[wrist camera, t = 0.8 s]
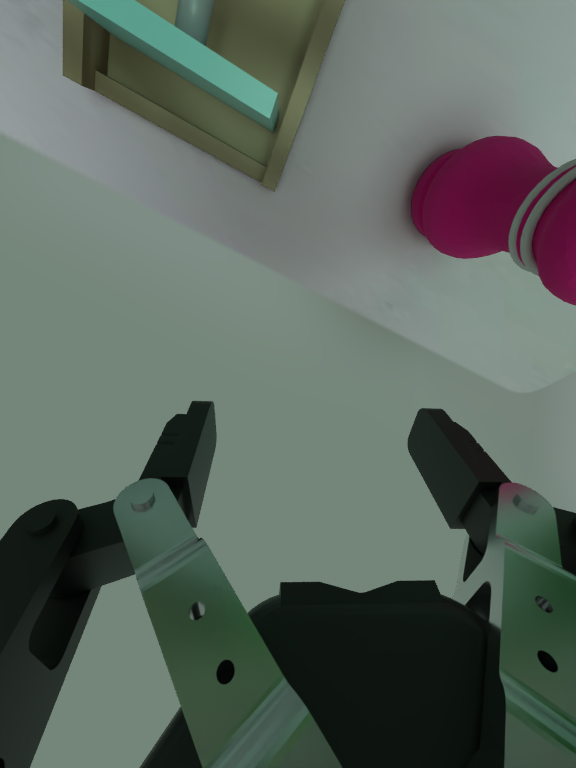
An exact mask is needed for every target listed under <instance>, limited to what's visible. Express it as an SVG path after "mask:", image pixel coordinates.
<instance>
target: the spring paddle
mask: <svg viewBox="0 0 576 768" xmlns="http://www.w3.org/2000/svg"><path fill="white" fill-rule="evenodd" d="M68 1H69V2H70V3H72V4H73V5H74V6H76V7H77V8H78V9H80V10H81V11H82V12H83V13H85V14H86V15H87V16H89V17H90V18H91V19H93V20H94V21H95V22H96V23H98V24H99V25H100V26H102V27H103V28H104V29H106V30H107V31H108V32H109V33H111V34H112V35H113V36H115V37H116V38H118V39H119V40H121V41H123V42H124V43H126V44H128V45H129V46H131V47H133V48H134V49H136V50H137V51H139V52H141V53H142V54H144V55H146V56H147V57H149V58H151V59H152V60H154V61H156V62H157V63H159V64H160V65H162V66H164V67H165V68H167V69H169V70H170V71H172V72H174V73H175V74H177V75H179V76H180V77H182V78H184V79H185V80H187V81H188V82H190V83H192V84H193V85H195V86H197V87H198V88H200V89H202V90H203V91H205V92H207V93H208V94H210V95H211V96H213V97H215V98H216V99H218V100H220V101H221V102H223V103H225V104H226V105H228V106H230V107H231V108H233V109H235V110H236V111H238V112H239V113H241V114H243V115H244V116H246V117H248V118H249V119H251V120H253V121H254V122H256V123H258V124H259V125H261V126H262V127H264V128H266V129H267V130H269V131H271V132H272V133H274V130H275V127H276V124H277V121H278V118H279V106H278V93H277V92H275V91H274V90H272V89H270V88H269V87H267V86H266V85H264V84H263V83H261V82H260V81H258V80H257V79H255V78H254V77H252V76H251V75H249V74H247V73H246V72H244V71H243V70H241V69H240V68H238V67H237V66H235V65H234V64H232V63H231V62H229V61H227V60H226V59H224V58H223V57H221V56H220V55H218V54H217V53H215V52H214V51H212V50H211V49H209V48H207V47H206V43H207V38H208V33H209V28H210V23H211V18H212V13H213V8H214V3H215V0H178V6H177V13H176V20H175V26H174V25H172V24H171V23H169V22H167V21H166V20H164V19H163V18H161V17H160V16H158V15H157V14H155V13H154V12H152V11H151V10H149V9H148V8H146V7H144V6H143V5H141V4H140V3H138V2H137V1H135V0H68Z"/></svg>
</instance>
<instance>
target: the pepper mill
mask: <svg viewBox="0 0 576 768" xmlns="http://www.w3.org/2000/svg"><path fill="white" fill-rule="evenodd" d="M411 215H412V219H413V222H414V224H415V226H416V228H417V229H418V231H419V232H420V233H421V234H423V235H424V236H426V237H427V239H428V240H429V242H430V243H431V244H432V245H433V247H434V248H436V249H437V250H438V251H440V252H441V253H444V254H446V255H449V256H452V257H455V258H463V259H467V258H478V257H483V256H488V255H491V254H495V253H498V252H501V251H505V252H509V253H510V254H511V257H512V259H513V261H514V262H515V263H516V264H517V265H518V266H519V267H520V268H522V269H524V270H526V271H529V272H532V273H534V274H536V275H538V276H539V277H540V279H541V281H542V283H543V285H544V286H545V287H546V288H547V289H548V290H549V291H550V292H551V293H552V294H553V295H555V296H556V297H558V298H559V299H561V300H563V301H564V302H567V303H570V304H572V305H576V159H574V160H572V161H569V162H567V163H565V164H564V165H562V166H560V167H559V168H556V167H554V166H553V165H552V164H551V163H549V161H548V160H547V159H546V157H545V156H544V155H543V154H542V152H541V151H540V150H539V149H538V148H537V147H535V146H533V145H532V144H530V143H528V142H526V141H525V140H523V139H520V138H516V137H506V136H492V137H486V138H483V139H480V140H477V141H474V142H472V143H471V144H469V145H467V146H465V147H464V148H462V149H457V150H453V151H450V152H448V153H446V154H444V155H442V156H440V157H439V158H438V159H436V160H435V161H434V162H433V163H432V164H431V165H430V166H429V167H428V168H427V169H426V170H425V172H424V173H423V175H422V176H421V178H420V179H419V181H418V183H417V185H416V187H415V190H414V193H413V197H412V202H411Z"/></svg>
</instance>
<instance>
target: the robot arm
mask: <svg viewBox="0 0 576 768" xmlns="http://www.w3.org/2000/svg"><path fill="white" fill-rule="evenodd" d="M214 411H215V410H214V403H213V402H212V401H192V403H191V405H190V407H189V410H188V412H187V414H177V415H175V416H174V417H173V418H172V419H171V420H170V421H168V422H167V424H166V426H165V428H164V430H163V432H162V435H161V436H160V438H159V440H158V442H157V445H156V446H155V448H154V450H153V452H152V454H151V456H150V458H149V460H148V462H147V465H146V466H145V469H144V471H143V473H142V475H141V477H140V479H139V480H138V481H137V482H134V483H132V484H131V485H129V486H127V487H126V488H125V489H124V490H122V491H121V493H120V494H119V495H118V497H117V498H116V499H114V500H112V501H109V502H106V503H102V504H98V505H94V506H90V507H86V508H82V509H79V510H78V509H77V507H76V505H75V504H74V503H72V502H71V501H69V500H64V499H58V500H51V501H47V502H44V503H42V504H39V505H37V506H35V507H33V508H31V509H30V510H28V511H27V512H25V513H24V514H23V515H21V516H20V517H19V518H18V519H17V520H16V521H15V522H14V523H13V524H12V526H11V527H10V528H9V530H8V531H7V533H6V534H5V535H4V536H3V538H2V539H1V540H0V768H30V765H31V763H32V760H33V758H34V755H35V753H36V750H37V748H38V745H39V743H40V740H41V737H42V735H43V733H44V730H45V728H46V725H47V722H48V720H49V717H50V715H51V712H52V710H53V707H54V705H55V702H56V700H57V697H58V695H59V692H60V690H61V687H62V685H63V682H64V679H65V677H66V674H67V672H68V669H69V667H70V664H71V662H72V659H73V657H74V654H75V652H76V649H77V647H78V644H79V642H80V639H81V636H82V634H83V631H84V629H85V626H86V624H87V621H88V619H89V616H90V614H91V611H92V608H93V606H94V604H95V601H96V599H97V596H98V593H99V591H100V588H101V586H102V585H105V584H108V583H111V582H114V581H117V580H120V579H123V578H126V577H129V576H131V575H134V574H136V577H137V582H138V585H139V588H140V591H141V594H142V597H143V600H144V602H145V605H146V608H147V611H148V614H149V617H150V619H151V622H152V625H153V628H154V631H155V634H156V637H157V639H158V642H159V645H160V648H161V650H162V654H163V657H164V659H165V662H166V665H167V668H168V671H169V673H170V676H171V679H172V682H173V685H174V688H175V690H176V694H177V696H178V699H179V702H180V705H181V707H180V709H179V710H178V712H177V713H176V714H175V716H174V717H173V719H172V721H171V722H170V723H169V725H168V726H167V728H166V729H165V731H164V732H163V734H162V735H161V737H160V738H159V740H158V741H157V743H156V744H155V746H154V747H153V749H152V750H151V752H150V753H149V754H148V756H147V757H146V759H145V760H144V762H143V763H142V765H141V767H140V768H576V513H573V512H569V511H566V510H562V509H558V508H554V507H552V506H551V504H550V503H549V502H548V501H547V500H546V499H545V498H544V497H543V496H541V495H540V494H539V493H537V492H536V491H534V490H532V489H531V488H528V487H526V486H524V485H521V484H518V483H512V482H511V481H510V480H509V479H508V478H507V477H506V475H505V474H504V473H503V472H502V471H501V469H500V468H499V467H498V466H497V465H496V463H495V462H494V461H493V460H492V459H491V458H490V457H489V455H488V454H487V453H486V452H484V450H483V448H482V447H481V446H480V445H479V443H476V440H475V439H474V438H473V436H472V435H471V434H470V433H469V432H468V431H467V430H466V429H464V428H463V427H462V426H460V425H459V424H457V423H456V422H453V421H452V420H451V419H450V417H449V416H448V415H447V414H446V412H445V411H444V410H443V409H429V408H422V409H420V410H419V411H418V413H417V416H416V418H415V421H414V424H413V426H412V429H411V432H410V434H409V437H408V450H409V453H410V455H411V457H412V459H413V460H414V462H415V464H416V466H417V468H418V470H419V472H420V473H421V475H422V477H423V479H424V481H425V483H426V484H427V486H428V488H429V490H430V492H431V494H432V495H433V497H434V499H435V501H436V503H437V505H438V507H439V508H440V510H441V512H442V514H443V516H444V518H445V520H446V522H447V523H448V525H449V527H450V528H451V529H466V531H467V533H468V535H467V536H466V538H465V540H464V546H463V551H462V557H461V563H460V569H459V575H458V581H457V586H456V590H455V593H454V595H453V597H452V599H451V598H449V597H446V596H444V595H441V594H440V592H439V590H438V587H437V585H436V583H435V581H434V580H432V581H396V582H394V583H390V584H388V585H385V586H382V587H379V588H376V589H373V590H371V591H368V592H365V593H358V592H354V591H350V590H347V589H343V588H339V587H336V586H332V585H329V584H325V583H322V582H281V583H280V592H279V595H277V596H274V597H271V598H269V599H267V600H265V601H263V602H261V603H260V604H258V605H257V606H255V607H254V608H253V609H251V610H250V611H249V612H248V613H247V612H246V610H245V609H244V607H243V605H242V603H241V602H240V600H239V598H238V596H237V595H236V593H235V591H234V590H233V588H232V586H231V584H230V583H229V581H228V579H227V577H226V576H225V574H224V572H223V571H222V569H221V567H220V565H219V564H218V562H217V560H216V558H215V557H214V555H213V553H212V552H211V550H210V548H209V547H208V545H207V543H206V542H205V541H204V540H203V539H202V538H200V539H199V538H198V537H197V536H196V534H195V532H194V530H193V529H192V528H196V527H197V522H198V518H199V514H200V510H201V506H202V501H203V498H204V493H205V489H206V485H207V481H208V477H209V473H210V468H211V464H212V460H213V456H214V452H215V447H216V423H215V412H214Z"/></svg>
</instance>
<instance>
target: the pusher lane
mask: <svg viewBox="0 0 576 768" xmlns="http://www.w3.org/2000/svg"><path fill="white" fill-rule="evenodd" d="M135 1H137V2H138V3H140V4H141V5H143V6H144V7H146V8H148V9H149V10H151V11H152V12H154V13H155V14H157V15H158V16H160V17H161V18H163V19H164V20H166V21H167V22H169V23H171V24H172V25H174V26H175V20H176V13H177V6H178V0H135ZM344 1H345V0H215V3H214V8H213V13H212V18H211V23H210V28H209V33H208V38H207V43H206V47H207V48H209V49H211V50H212V51H214V52H215V53H217V54H218V55H220V56H221V57H223V58H224V59H226V60H227V61H229V62H231V63H232V64H234V65H235V66H237V67H238V68H240V69H241V70H243V71H244V72H246V73H247V74H249V75H251V76H252V77H254V78H255V79H257V80H258V81H260V82H261V83H263V84H264V85H266V86H267V87H269V88H270V89H272V90H274V91H275V92H277V93H278V106H279V118H278V121H277V124H276V127H275V130H274V133H272V132H271V131H269V130H267V129H266V128H264V127H262V126H261V125H259V124H258V123H256V122H254V121H253V120H251V119H249V118H248V117H246V116H244V115H243V114H241V113H239V112H238V111H236V110H235V109H233V108H231V107H230V106H228V105H226V104H225V103H223V102H221V101H220V100H218V99H216V98H215V97H213V96H211V95H210V94H208V93H207V92H205V91H203V90H202V89H200V88H198V87H197V86H195V85H193V84H192V83H190V82H188V81H187V80H185V79H184V78H182V77H180V76H179V75H177V74H175V73H174V72H172V71H170V70H169V69H167V68H165V67H164V66H162V65H160V64H159V63H157V62H156V61H154V60H152V59H151V58H149V57H147V56H146V55H144V54H142V53H141V52H139V51H137V50H136V49H134V48H133V47H131V46H129V45H128V44H126V43H124V42H123V41H121V40H119V39H118V38H116V37H115V36H113V35H112V34H111V33H109V32H108V31H107V30H106V29H104V28H103V27H102V26H100V25H99V24H98V23H96V22H95V21H94V20H93V19H91V18H90V17H89V16H87V15H86V14H85V13H83V12H82V11H81V10H80V9H78V8H77V7H76V6H74V5H73V4H72V3H70V2H69V1H68V0H63V76H65V77H67V78H69V79H71V80H72V81H74V82H76V83H78V84H80V85H81V86H84V87H86V88H89V89H92V90H94V91H96V92H98V93H100V94H101V95H103V96H105V97H107V98H109V99H110V100H112V101H114V102H116V103H118V104H120V105H121V106H123V107H125V108H127V109H129V110H130V111H132V112H134V113H136V114H138V115H139V116H141V117H143V118H145V119H147V120H149V121H150V122H152V123H154V124H156V125H158V126H159V127H161V128H163V129H165V130H167V131H168V132H170V133H172V134H174V135H176V136H178V137H179V138H181V139H183V140H185V141H187V142H188V143H190V144H192V145H194V146H196V147H197V148H199V149H201V150H203V151H205V152H207V153H208V154H210V155H212V156H214V157H216V158H217V159H219V160H221V161H223V162H225V163H226V164H228V165H230V166H232V167H234V168H236V169H237V170H239V171H241V172H243V173H245V174H246V175H248V176H250V177H252V178H254V179H255V180H257V181H259V182H261V183H262V184H261V185H263V186H265V187H267V188H269V189H271V190H272V191H274V192H275V189H276V187H277V184H278V181H279V178H280V176H281V173H282V170H283V167H284V165H285V162H286V159H287V157H288V154H289V151H290V148H291V146H292V143H293V140H294V137H295V135H296V132H297V129H298V127H299V124H300V121H301V118H302V116H303V113H304V110H305V107H306V105H307V102H308V99H309V97H310V94H311V91H312V88H313V86H314V83H315V80H316V77H317V75H318V72H319V69H320V67H321V64H322V61H323V58H324V56H325V53H326V50H327V47H328V45H329V42H330V39H331V37H332V34H333V31H334V28H335V26H336V23H337V20H338V17H339V15H340V12H341V9H342V7H343V4H344Z"/></svg>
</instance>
